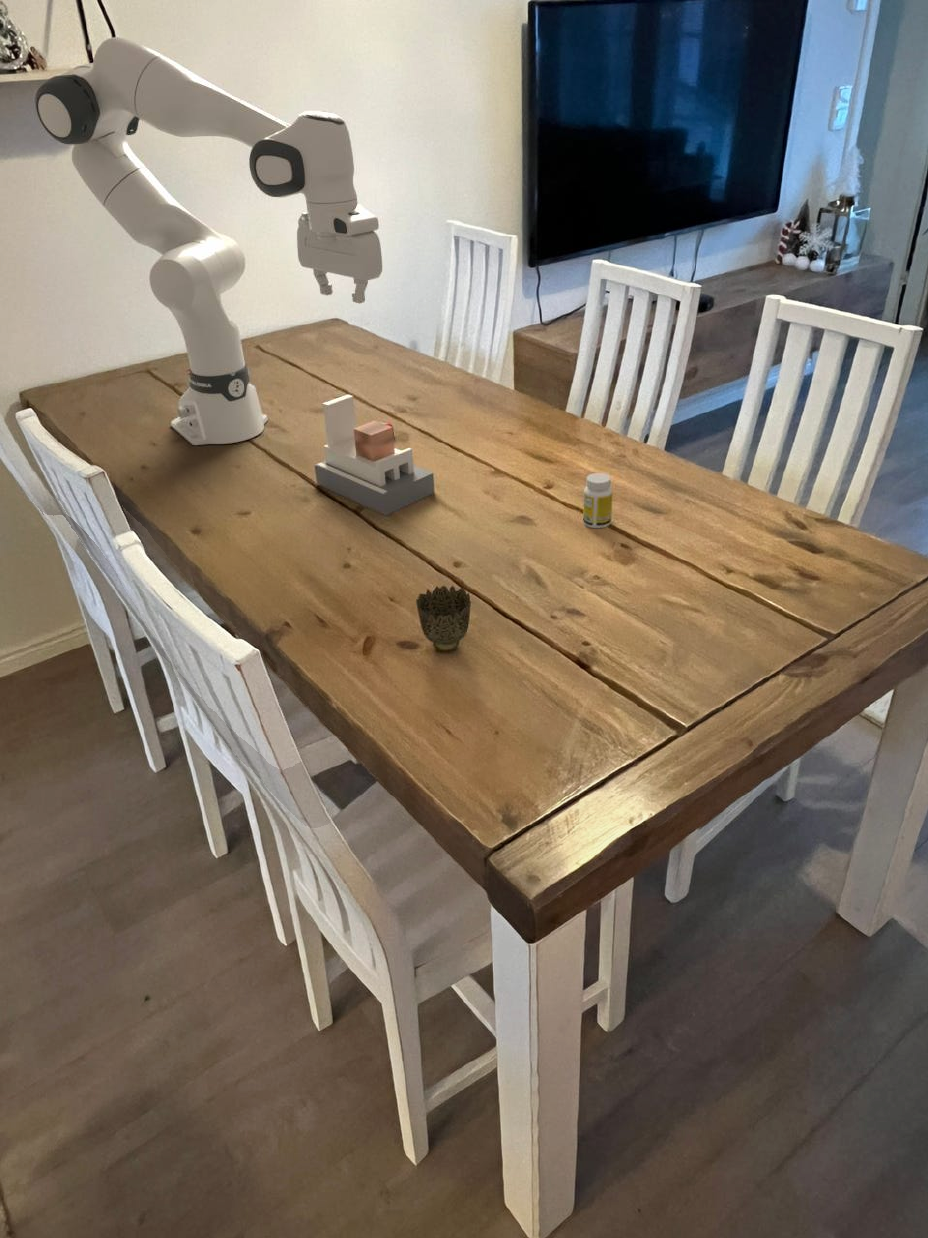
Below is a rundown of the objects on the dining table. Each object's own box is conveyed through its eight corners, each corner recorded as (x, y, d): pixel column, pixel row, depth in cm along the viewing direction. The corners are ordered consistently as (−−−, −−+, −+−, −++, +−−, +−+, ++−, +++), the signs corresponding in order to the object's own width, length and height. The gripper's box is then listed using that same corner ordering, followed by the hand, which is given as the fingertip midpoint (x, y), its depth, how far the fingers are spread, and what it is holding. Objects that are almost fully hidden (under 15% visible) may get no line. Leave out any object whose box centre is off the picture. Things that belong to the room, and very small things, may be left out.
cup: (418, 634, 129) (415, 587, 125) (470, 630, 130) (468, 582, 125) (421, 665, 123) (417, 616, 119) (475, 660, 124) (473, 612, 119)
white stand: (325, 462, 171) (318, 404, 165) (358, 449, 176) (352, 392, 169) (380, 486, 162) (374, 426, 155) (413, 472, 166) (409, 412, 160)
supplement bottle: (613, 518, 157) (615, 473, 152) (607, 530, 153) (610, 485, 148) (586, 514, 158) (587, 470, 153) (580, 527, 154) (581, 482, 150)
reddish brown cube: (356, 454, 165) (353, 428, 163) (377, 445, 168) (374, 420, 165) (373, 461, 162) (371, 435, 160) (394, 452, 165) (392, 427, 162)
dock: (317, 484, 173) (314, 463, 171) (365, 463, 180) (363, 444, 177) (385, 515, 161) (383, 494, 159) (434, 492, 168) (433, 471, 165)
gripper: (283, 214, 163) (294, 293, 170) (356, 226, 150) (364, 310, 158) (311, 208, 166) (321, 286, 174) (384, 219, 154) (391, 303, 162)
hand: (342, 298), depth 166 cm, fingers open, 8 cm apart
